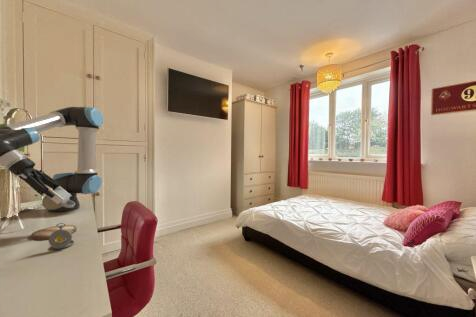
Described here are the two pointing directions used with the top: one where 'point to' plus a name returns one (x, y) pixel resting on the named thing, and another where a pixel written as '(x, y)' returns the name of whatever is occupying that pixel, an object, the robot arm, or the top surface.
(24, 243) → the top surface
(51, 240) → the pocket watch
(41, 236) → the brown round plate
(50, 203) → the ceramic mug
